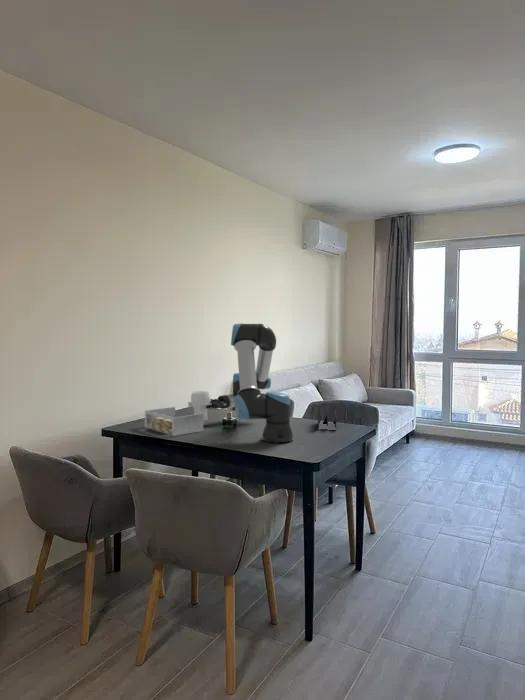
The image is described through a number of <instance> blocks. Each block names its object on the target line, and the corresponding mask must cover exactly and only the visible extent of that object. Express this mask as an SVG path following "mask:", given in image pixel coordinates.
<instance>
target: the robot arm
mask: <svg viewBox="0 0 525 700" xmlns="http://www.w3.org/2000/svg"><path fill="white" fill-rule="evenodd" d="M276 337H277V336H276V334H275V332H274V331H273V329H272V328H271V327H270V326H268V325H266V324H263V323H242V322H241V323H235V324H233V326H232V331H231V341H230V345H231V346H233V348H234V350H235V351H236V352H237V365H238V372H236V373H233V375H232V394H223V395H219V396H218V398H214V399H213V398H210V404H203V405H200V410H205V409H207V410H210V409H211V410H212V409H213V410H216V409H217V410H218V409H221V410H223V409H230V410H231V409H232V408H235V409H234V410H235V413H236V416H237V418H238V419H240V420H246V421H247V420H265V426H264V429H263V431H262V432H263V433H262V436H261V439H262V441H263V440H264V441H263V442H265V441H267V442H266V443H270V442H274V443H273V444H279V443H278V442H287V441H290V440H292V439H293V440H294V434H293V431H292V428H291V425H290V422H291V419H290V418H291V416H290V415H291V412H290V411H291V398H290V395H288V394H287V393H282V392H276V391H266V393H265V394H261V390H268V389H270V388H271V384H272V381H271V380H272V379H271V377H270V376H269V373H270V370H271V369H270V368H271V363H272V359H273V358H272V357H273V352H274V350H275V349H276V346H277V338H276ZM257 346H258V348H259V350H258V357H257V362H256V360H255V359H256V358H255V349H256V348H257ZM187 407H188V408H193V406H192V402H191V401H188V402H187ZM287 443H288V442H287Z"/></svg>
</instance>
